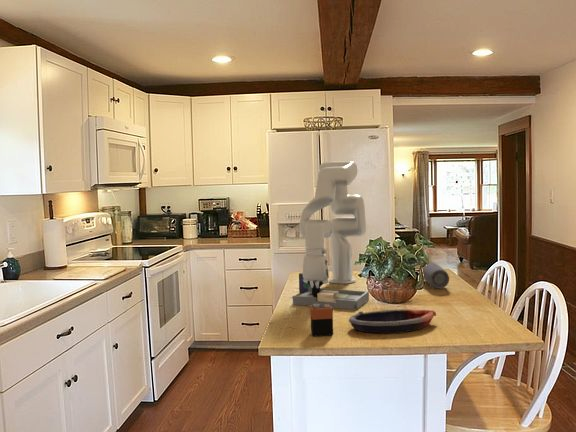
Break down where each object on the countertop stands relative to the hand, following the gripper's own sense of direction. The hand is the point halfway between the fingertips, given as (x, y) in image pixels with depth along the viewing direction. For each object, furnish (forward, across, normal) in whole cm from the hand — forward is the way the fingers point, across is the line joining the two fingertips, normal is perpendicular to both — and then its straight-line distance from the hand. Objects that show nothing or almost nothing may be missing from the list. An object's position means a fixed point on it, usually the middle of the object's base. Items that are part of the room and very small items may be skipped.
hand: (316, 296), depth 206 cm
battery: (+3, -17, +37) cm, 41 cm away
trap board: (+3, -5, -4) cm, 7 cm away
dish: (+3, -37, +21) cm, 43 cm away
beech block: (+1, -5, 0) cm, 5 cm away
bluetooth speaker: (+3, -38, -47) cm, 61 cm away
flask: (+3, +10, -16) cm, 19 cm away
